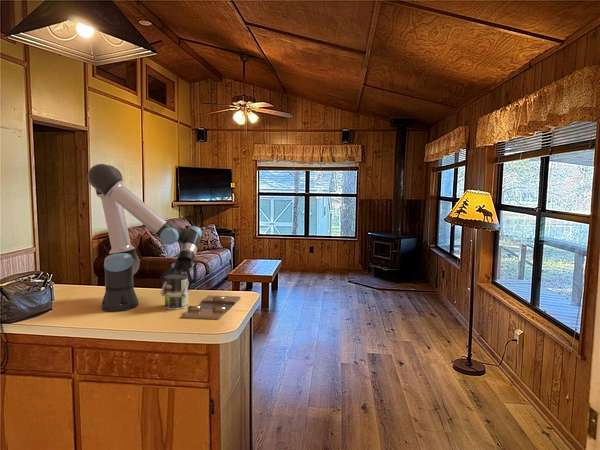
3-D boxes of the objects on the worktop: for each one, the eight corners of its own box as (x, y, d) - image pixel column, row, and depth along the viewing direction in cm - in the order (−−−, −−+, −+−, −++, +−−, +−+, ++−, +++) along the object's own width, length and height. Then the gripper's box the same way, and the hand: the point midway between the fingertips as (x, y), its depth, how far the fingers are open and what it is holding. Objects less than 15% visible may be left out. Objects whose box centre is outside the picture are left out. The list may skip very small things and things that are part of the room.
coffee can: (170, 311, 173) (170, 279, 172) (161, 306, 181) (160, 275, 179) (192, 306, 180) (192, 276, 179) (182, 302, 187) (181, 272, 186)
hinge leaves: (181, 317, 164) (181, 311, 164) (208, 297, 195) (208, 292, 195) (219, 319, 162) (218, 312, 162) (240, 298, 193) (240, 293, 192)
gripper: (211, 259, 192) (200, 300, 178) (167, 258, 195) (152, 298, 181) (207, 250, 187) (195, 291, 172) (162, 249, 189) (146, 289, 175)
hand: (173, 295), depth 177 cm, fingers closed on coffee can, 10 cm apart
